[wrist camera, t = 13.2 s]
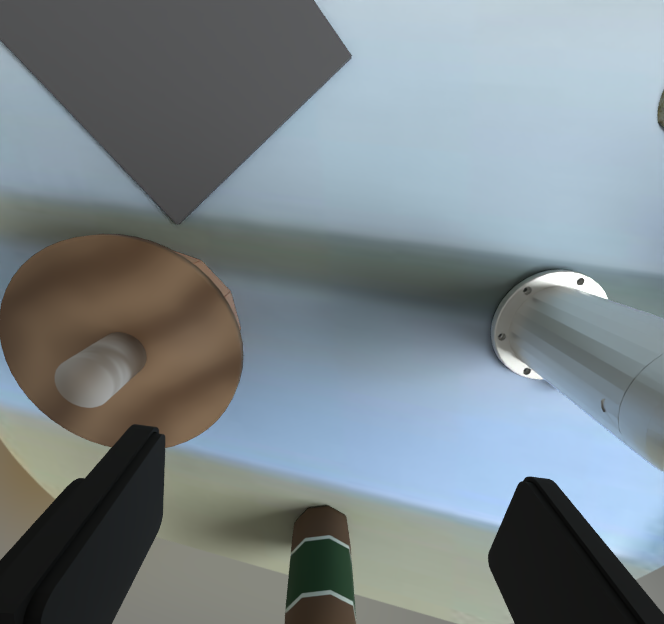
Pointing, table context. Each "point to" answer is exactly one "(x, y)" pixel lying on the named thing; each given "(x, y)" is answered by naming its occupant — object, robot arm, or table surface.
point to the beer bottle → (320, 570)
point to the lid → (121, 339)
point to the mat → (176, 79)
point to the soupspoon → (661, 110)
